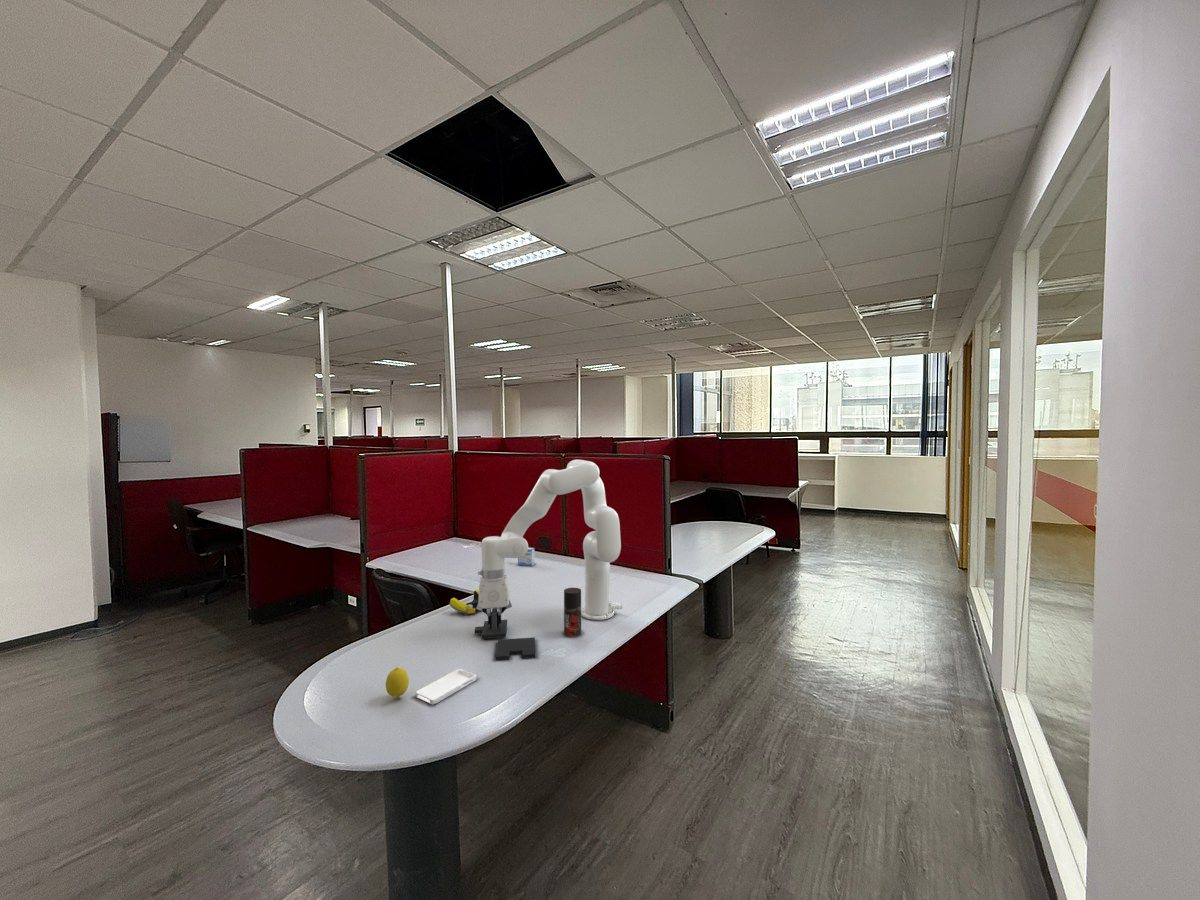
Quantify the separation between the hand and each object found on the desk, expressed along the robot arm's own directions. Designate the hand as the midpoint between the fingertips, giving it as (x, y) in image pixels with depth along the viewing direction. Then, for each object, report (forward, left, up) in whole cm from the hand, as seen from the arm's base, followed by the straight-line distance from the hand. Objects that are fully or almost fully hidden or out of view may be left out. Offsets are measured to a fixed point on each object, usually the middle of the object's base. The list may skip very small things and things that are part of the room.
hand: (494, 625), depth 165 cm
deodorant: (-27, +4, -3) cm, 27 cm away
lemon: (+22, +37, -3) cm, 44 cm away
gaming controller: (+10, -24, -3) cm, 26 cm away
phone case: (+10, +34, -3) cm, 36 cm away
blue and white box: (-11, -85, -3) cm, 86 cm away
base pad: (-8, +14, -3) cm, 16 cm away
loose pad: (+1, 0, -2) cm, 2 cm away
